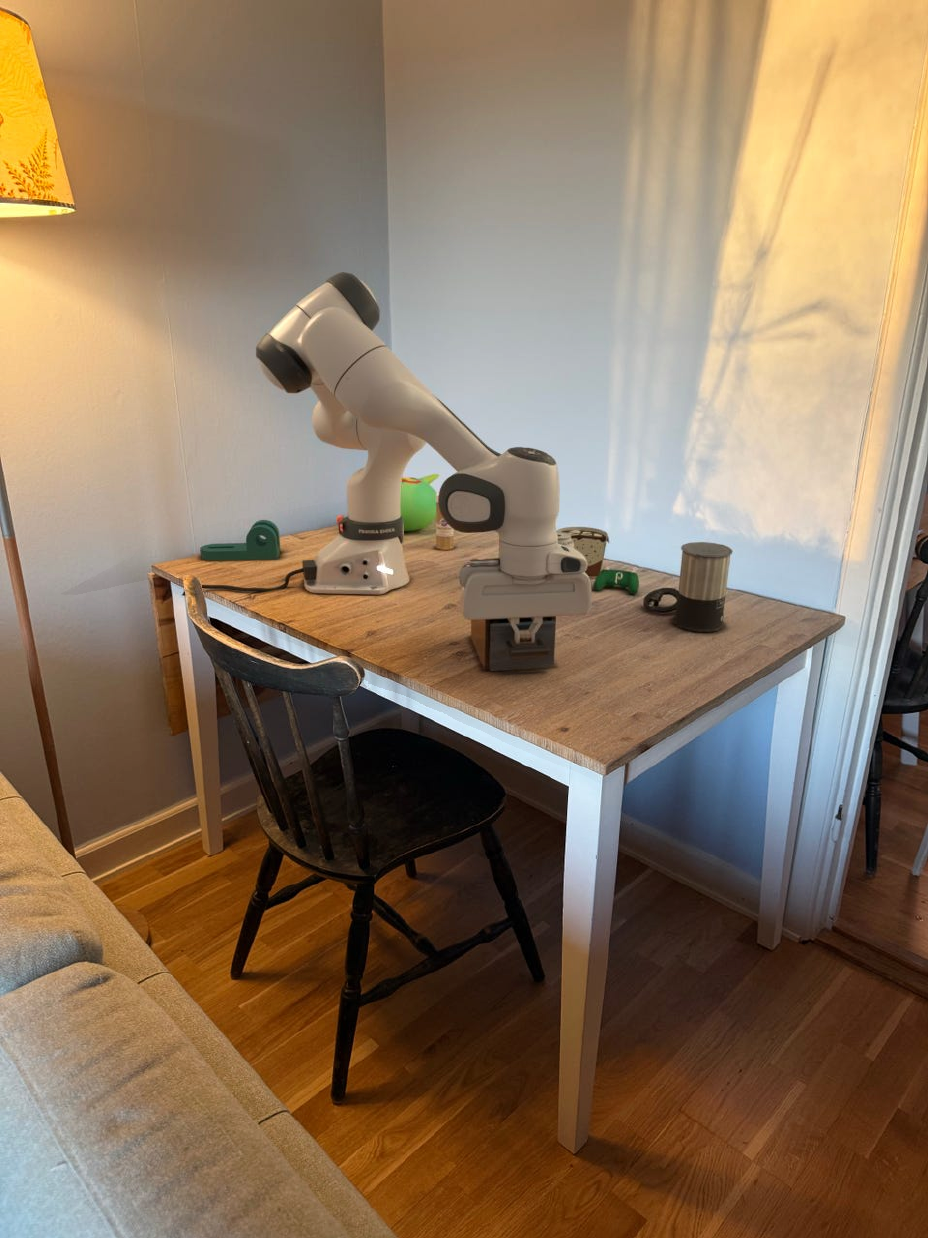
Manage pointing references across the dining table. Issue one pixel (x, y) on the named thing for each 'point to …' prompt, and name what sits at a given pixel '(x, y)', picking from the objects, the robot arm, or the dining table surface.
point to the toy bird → (418, 502)
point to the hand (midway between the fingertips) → (524, 642)
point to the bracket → (247, 545)
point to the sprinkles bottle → (443, 531)
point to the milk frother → (697, 588)
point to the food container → (589, 546)
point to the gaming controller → (617, 579)
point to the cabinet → (487, 638)
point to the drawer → (521, 646)
